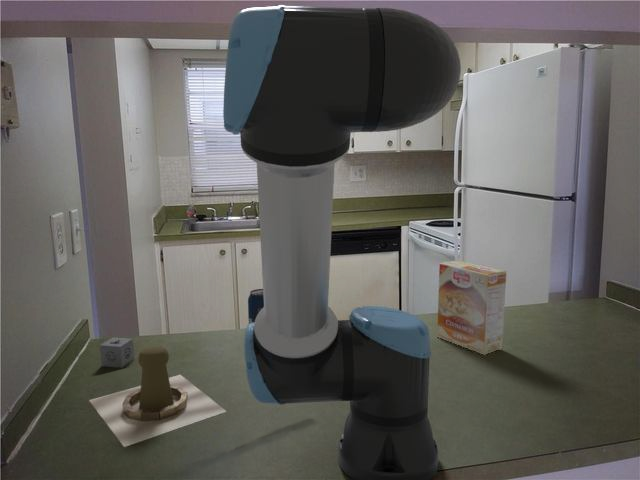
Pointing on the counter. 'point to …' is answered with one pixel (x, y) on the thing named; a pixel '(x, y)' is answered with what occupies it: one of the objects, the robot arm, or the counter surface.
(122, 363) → the dice cube
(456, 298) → the coffeecake box
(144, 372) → the cork
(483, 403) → the counter surface
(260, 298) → the soda can
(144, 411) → the collar
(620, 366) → the counter surface
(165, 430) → the board
